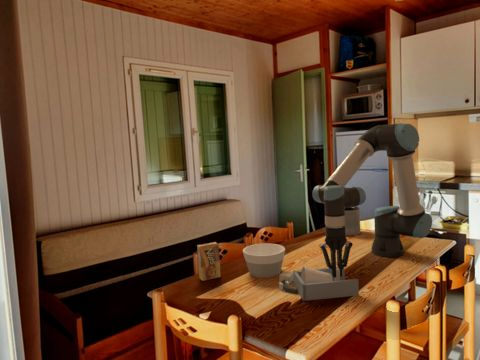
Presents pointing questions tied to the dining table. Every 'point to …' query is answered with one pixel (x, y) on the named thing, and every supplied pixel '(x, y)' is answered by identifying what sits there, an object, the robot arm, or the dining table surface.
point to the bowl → (264, 259)
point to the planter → (352, 221)
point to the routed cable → (289, 288)
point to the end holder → (325, 287)
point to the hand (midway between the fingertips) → (337, 284)
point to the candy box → (208, 261)
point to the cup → (314, 276)
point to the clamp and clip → (287, 277)
